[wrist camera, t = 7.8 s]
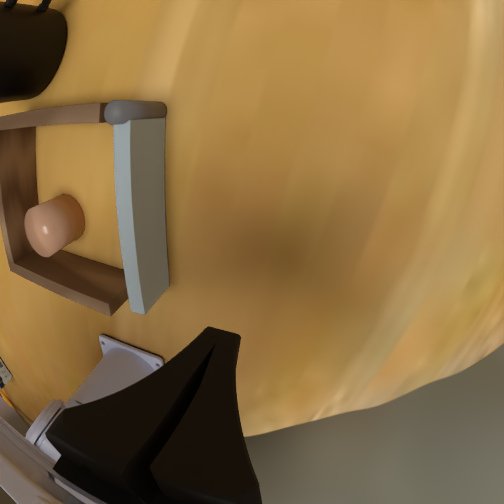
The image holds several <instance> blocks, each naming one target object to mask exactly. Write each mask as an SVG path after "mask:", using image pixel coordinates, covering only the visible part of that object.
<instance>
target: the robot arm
mask: <svg viewBox="0 0 504 504" xmlns="http://www.w3.org/2000/svg"><path fill="white" fill-rule="evenodd" d="M99 340H100V344H101V348H102V352H103V355H104V357H103V358H102V359H101V360H100V362H99V363H98V364H97V365H96V366H95V368H94V369H93V370H92V371H91V373H90V374H89V375H88V377H87V378H86V379H85V380H84V382H83V383H82V384H81V385H80V387H79V388H78V389H77V391H76V392H75V393H74V394H73V396H72V397H71V398H69V399H68V401H67V402H66V403H65V404H64V405H63V403H64V402H63V401H62V400H61V399H58V400H57V399H53V400H51V401H50V402H49V404H48V405H47V406H46V407H45V408H44V409H43V411H42V412H41V413H40V415H39V416H38V417H37V419H36V420H35V421H34V423H33V424H32V426H31V427H30V429H29V430H28V432H27V434H26V437H23V436H22V435H21V434H20V433H18V432H17V431H16V430H15V429H14V428H13V427H12V426H10V425H9V424H8V423H7V422H6V421H5V420H4V419H3V418H2V417H0V486H1V487H2V488H3V489H4V490H5V491H6V493H7V494H8V495H9V496H11V498H12V499H13V500H14V501H15V502H17V504H262V500H261V494H260V489H259V482H258V480H257V477H256V475H255V472H254V469H253V467H252V464H251V461H250V458H249V454H248V451H247V448H246V444H245V440H244V436H243V432H242V427H241V422H240V417H239V410H238V403H237V393H236V365H237V359H238V352H239V346H240V340H241V337H240V335H239V334H236V333H232V332H228V331H224V330H220V329H216V328H213V327H207V328H205V329H204V331H203V332H202V333H201V334H200V335H199V336H197V337H196V338H195V339H194V340H193V341H192V342H191V343H190V344H189V345H188V346H187V347H185V348H184V349H183V350H182V351H181V352H179V353H178V354H177V355H176V356H175V357H173V358H172V359H171V360H169V361H168V362H167V363H165V364H164V365H163V360H162V358H160V357H159V356H156V355H153V354H150V353H148V352H145V351H142V350H140V349H137V348H134V347H132V346H129V345H127V344H124V343H122V342H119V341H117V340H114V339H112V338H110V337H107V336H105V335H100V336H99Z"/></svg>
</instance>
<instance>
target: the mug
mask: <svg viewBox="0 0 504 504" xmlns="http://www.w3.org/2000/svg"><path fill="white" fill-rule="evenodd" d="M50 2H51V0H43V1H42V3H41V4H39V6H33V5H26V4H19V3H17V0H6V2H0V103H3V102H11V101H19V100H27V99H30V98H33V97H34V96H36V95H37V94H39V93H40V92H41V91H42V90H43V89H44V88H45V87H46V86H47V85H48V83H49V82H50V80H51V79H52V77H53V75H54V74H55V72H56V70H57V68H58V65H59V63H60V60H61V58H62V54H63V51H64V47H65V42H66V23H65V20H64V17H63V16H62V14H61V13H60V12H58V11H57V10H54V9H50V8H49V7H48V6H49V4H50Z"/></svg>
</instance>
